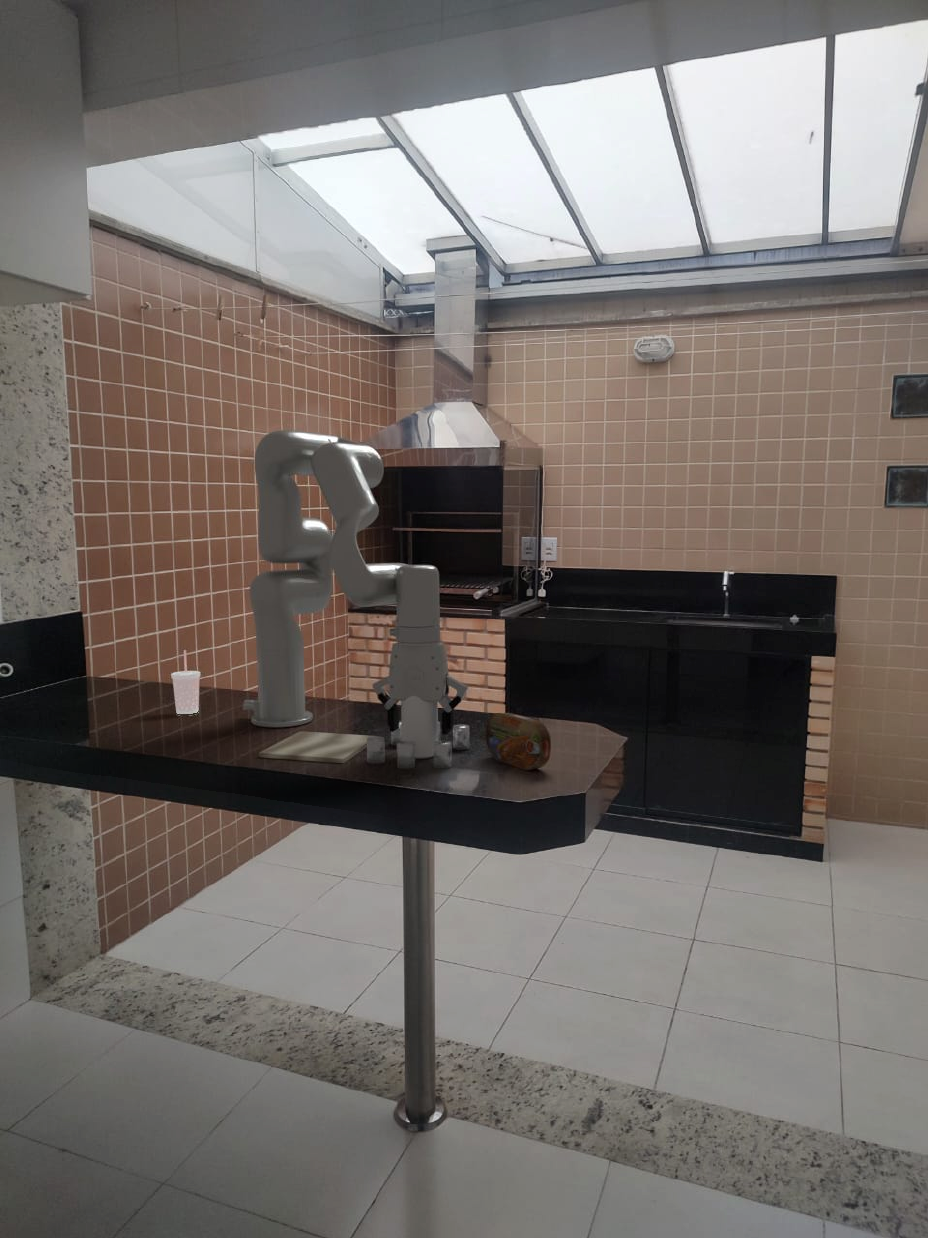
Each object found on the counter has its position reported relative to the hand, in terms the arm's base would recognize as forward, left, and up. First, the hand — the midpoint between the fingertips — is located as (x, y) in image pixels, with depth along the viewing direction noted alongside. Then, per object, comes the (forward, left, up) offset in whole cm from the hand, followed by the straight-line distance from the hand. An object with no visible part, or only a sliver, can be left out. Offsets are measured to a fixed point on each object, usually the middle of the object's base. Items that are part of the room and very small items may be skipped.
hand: (420, 731), depth 144 cm
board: (-19, 0, -4) cm, 20 cm away
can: (0, 0, -4) cm, 4 cm away
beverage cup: (-60, +20, -4) cm, 63 cm away
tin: (+18, -1, -5) cm, 18 cm away
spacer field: (0, 0, -4) cm, 4 cm away
